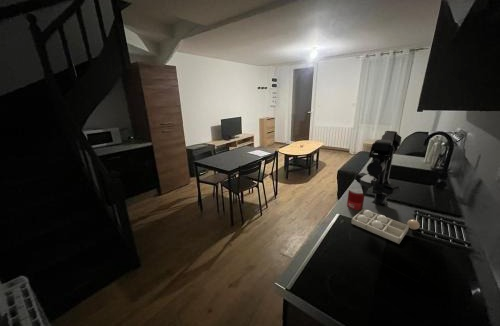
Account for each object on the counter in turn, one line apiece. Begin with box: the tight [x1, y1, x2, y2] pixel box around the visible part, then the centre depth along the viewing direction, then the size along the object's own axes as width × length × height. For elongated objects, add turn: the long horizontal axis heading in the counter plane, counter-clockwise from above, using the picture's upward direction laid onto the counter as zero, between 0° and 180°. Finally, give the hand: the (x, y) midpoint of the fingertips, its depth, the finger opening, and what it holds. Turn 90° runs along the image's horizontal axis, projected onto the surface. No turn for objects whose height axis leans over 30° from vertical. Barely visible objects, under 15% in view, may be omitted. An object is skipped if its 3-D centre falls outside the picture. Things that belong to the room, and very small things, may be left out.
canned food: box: [346, 186, 366, 211], centre depth 115 cm, size 8×8×11 cm
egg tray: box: [351, 208, 410, 245], centre depth 99 cm, size 14×20×3 cm
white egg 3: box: [371, 220, 383, 230], centre depth 96 cm, size 5×5×5 cm
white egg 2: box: [363, 209, 374, 218], centre depth 105 cm, size 5×5×5 cm
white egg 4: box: [377, 214, 388, 224], centre depth 100 cm, size 5×5×5 cm
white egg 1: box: [357, 215, 368, 224], centre depth 101 cm, size 5×5×5 cm
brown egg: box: [406, 218, 421, 230], centre depth 97 cm, size 5×5×5 cm
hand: (373, 198), depth 98 cm, fingers open, 9 cm apart
